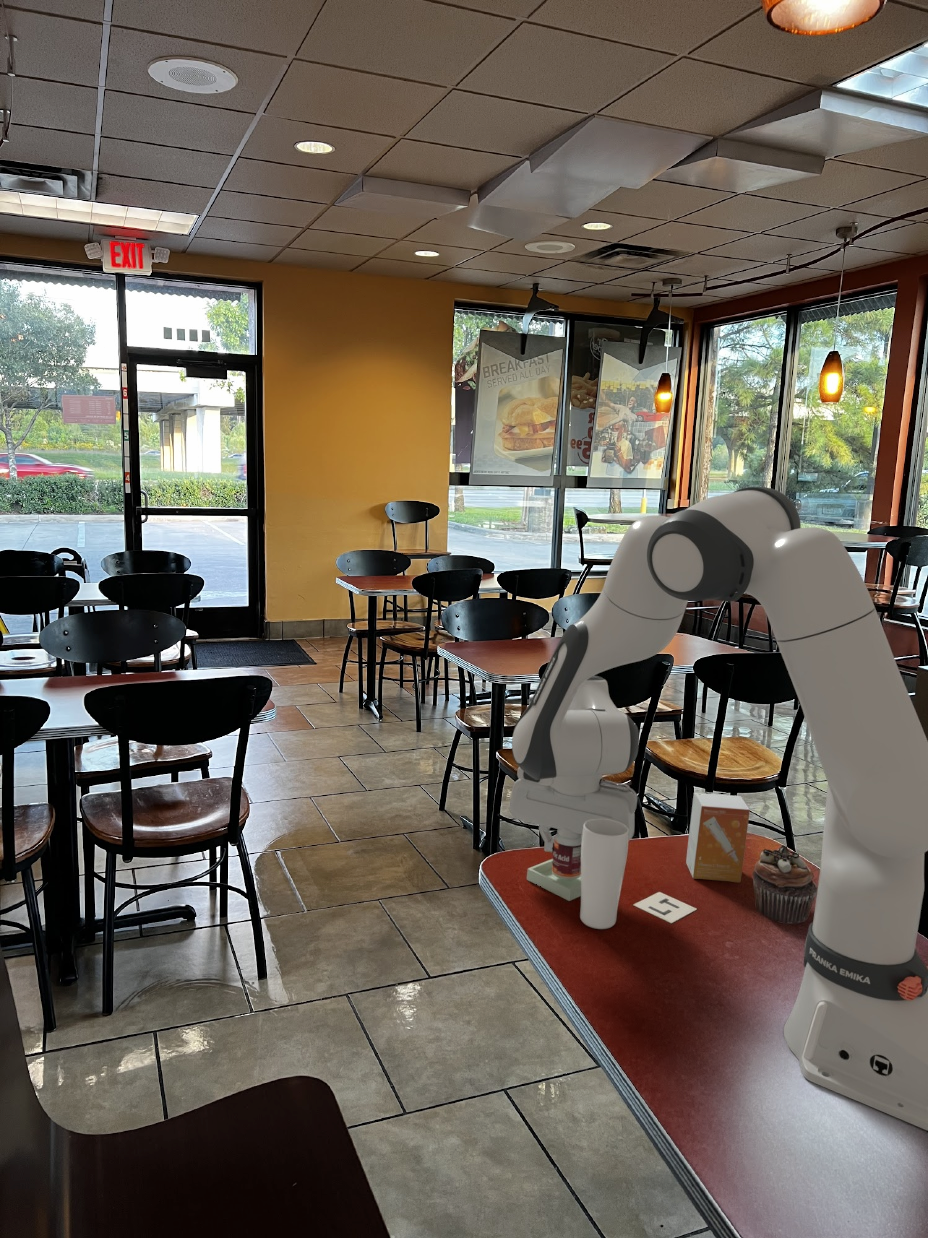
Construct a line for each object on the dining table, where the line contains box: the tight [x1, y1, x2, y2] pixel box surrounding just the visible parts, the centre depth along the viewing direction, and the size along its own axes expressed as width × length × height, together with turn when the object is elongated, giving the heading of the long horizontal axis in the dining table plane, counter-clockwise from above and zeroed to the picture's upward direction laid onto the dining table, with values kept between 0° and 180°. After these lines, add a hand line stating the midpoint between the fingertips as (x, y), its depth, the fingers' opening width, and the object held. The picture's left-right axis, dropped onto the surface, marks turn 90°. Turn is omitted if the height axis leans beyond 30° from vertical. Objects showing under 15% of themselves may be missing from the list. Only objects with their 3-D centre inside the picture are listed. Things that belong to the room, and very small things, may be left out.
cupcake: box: [752, 844, 818, 925], centre depth 142 cm, size 10×10×10 cm
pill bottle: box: [552, 828, 582, 880], centre depth 148 cm, size 5×5×8 cm
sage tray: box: [526, 858, 581, 902], centre depth 148 cm, size 9×9×2 cm
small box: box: [685, 792, 751, 883], centre depth 154 cm, size 8×6×13 cm
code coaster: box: [632, 891, 698, 924], centre depth 142 cm, size 7×7×1 cm
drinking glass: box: [579, 818, 630, 930], centre depth 135 cm, size 7×7×15 cm
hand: (567, 855), depth 148 cm, fingers closed on pill bottle, 5 cm apart
